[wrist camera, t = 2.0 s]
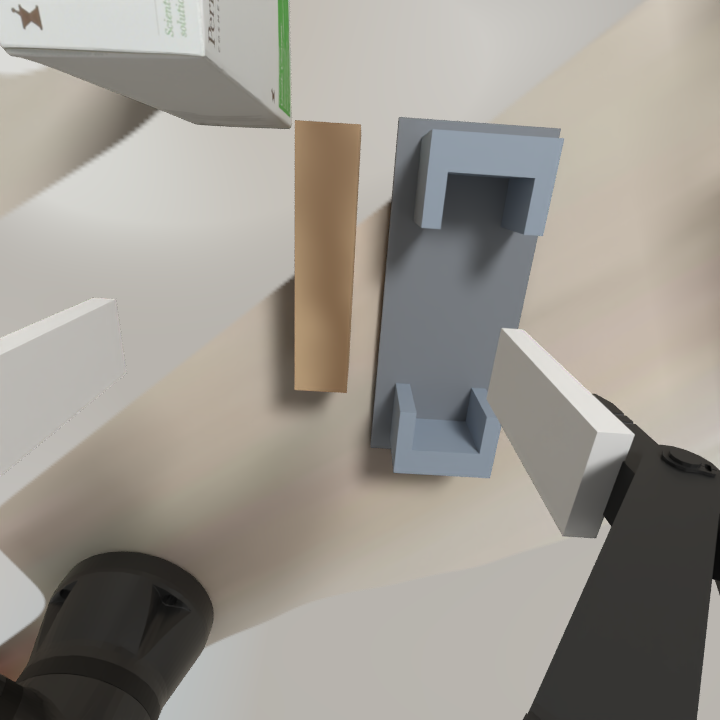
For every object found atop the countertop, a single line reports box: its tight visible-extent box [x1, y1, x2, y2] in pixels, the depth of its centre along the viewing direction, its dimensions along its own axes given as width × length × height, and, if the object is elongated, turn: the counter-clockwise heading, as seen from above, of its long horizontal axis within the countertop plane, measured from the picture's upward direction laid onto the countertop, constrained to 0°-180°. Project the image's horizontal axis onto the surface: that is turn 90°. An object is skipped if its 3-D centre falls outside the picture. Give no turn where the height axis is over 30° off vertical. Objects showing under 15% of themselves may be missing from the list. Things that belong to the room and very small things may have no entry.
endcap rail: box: [371, 117, 564, 478], centre depth 29 cm, size 10×24×5 cm, turn 176°
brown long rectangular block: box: [295, 120, 361, 393], centre depth 28 cm, size 4×16×5 cm, turn 177°
